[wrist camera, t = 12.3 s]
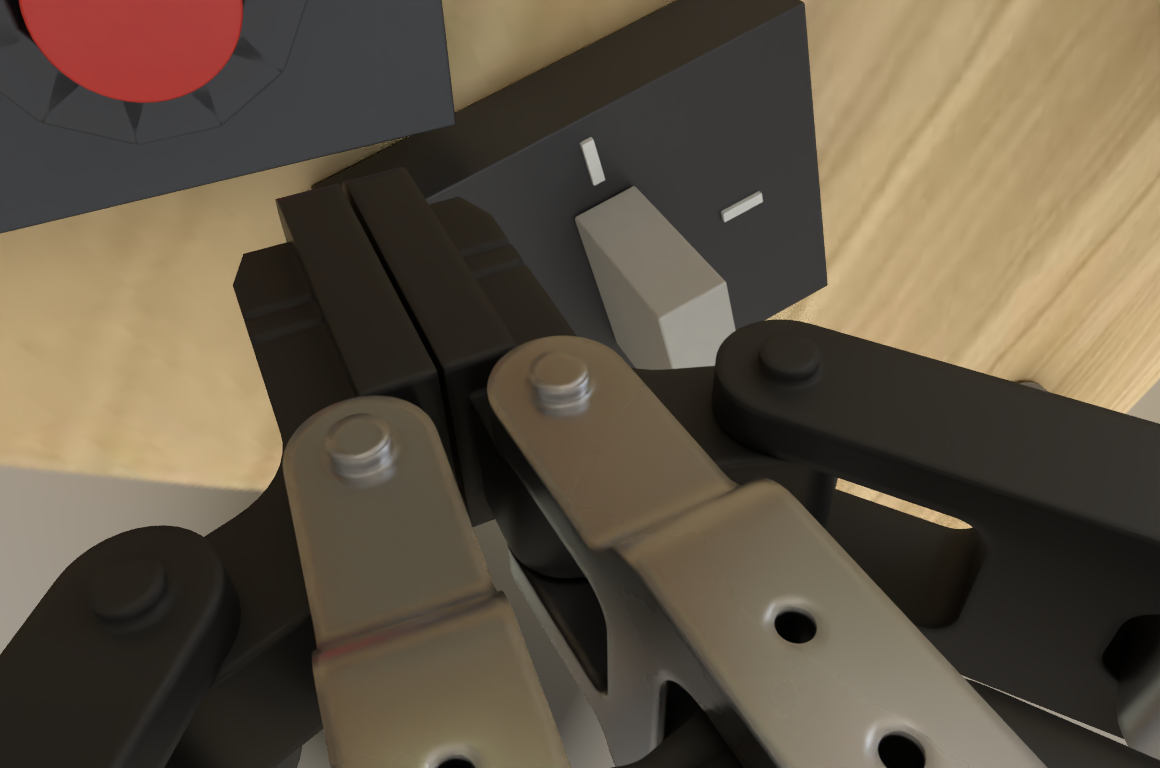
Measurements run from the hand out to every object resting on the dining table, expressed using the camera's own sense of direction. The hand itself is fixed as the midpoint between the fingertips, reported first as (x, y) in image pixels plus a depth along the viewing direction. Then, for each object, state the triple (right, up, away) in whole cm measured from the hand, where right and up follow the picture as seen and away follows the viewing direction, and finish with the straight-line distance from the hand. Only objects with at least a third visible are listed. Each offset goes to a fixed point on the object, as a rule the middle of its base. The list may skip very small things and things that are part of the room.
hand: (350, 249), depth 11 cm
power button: (-6, +6, +7) cm, 11 cm away
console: (+3, +4, +20) cm, 20 cm away
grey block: (+4, +2, +18) cm, 18 cm away
